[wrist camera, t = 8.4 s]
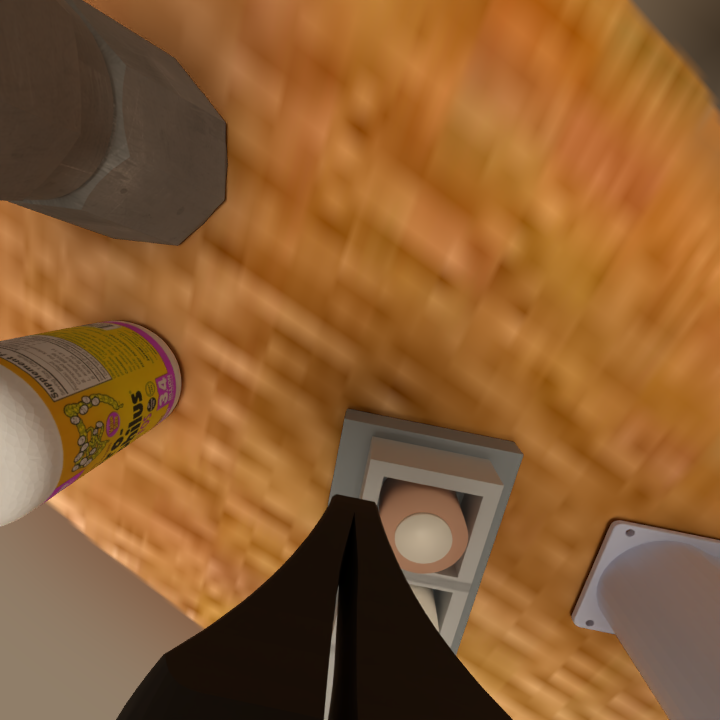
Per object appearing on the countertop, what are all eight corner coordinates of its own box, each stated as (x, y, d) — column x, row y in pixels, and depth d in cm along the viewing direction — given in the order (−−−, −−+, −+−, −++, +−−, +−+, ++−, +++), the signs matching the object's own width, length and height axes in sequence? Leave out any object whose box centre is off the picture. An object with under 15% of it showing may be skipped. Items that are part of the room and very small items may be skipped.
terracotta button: (465, 473, 20) (479, 510, 17) (445, 539, 21) (456, 584, 18) (387, 458, 20) (388, 492, 17) (372, 523, 22) (370, 566, 18)
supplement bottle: (148, 445, 23) (-127, 653, 11) (59, 377, 22) (-351, 516, 10) (208, 369, 22) (-31, 507, 9) (115, 293, 21) (-286, 332, 8)
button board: (513, 441, 21) (542, 480, 18) (433, 688, 26) (442, 760, 23) (346, 408, 22) (339, 439, 18) (298, 660, 27) (284, 726, 23)
